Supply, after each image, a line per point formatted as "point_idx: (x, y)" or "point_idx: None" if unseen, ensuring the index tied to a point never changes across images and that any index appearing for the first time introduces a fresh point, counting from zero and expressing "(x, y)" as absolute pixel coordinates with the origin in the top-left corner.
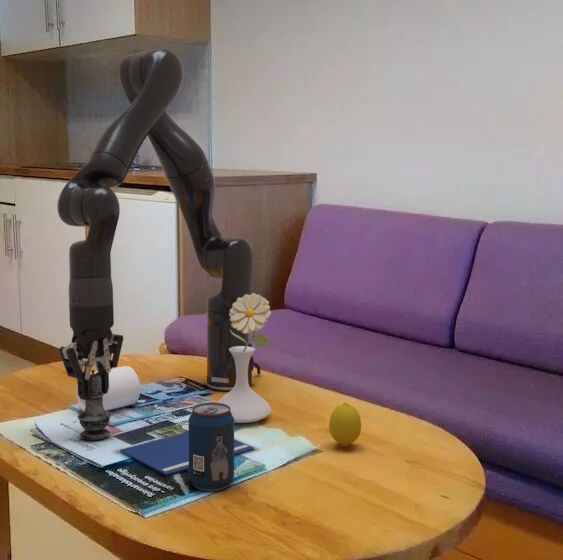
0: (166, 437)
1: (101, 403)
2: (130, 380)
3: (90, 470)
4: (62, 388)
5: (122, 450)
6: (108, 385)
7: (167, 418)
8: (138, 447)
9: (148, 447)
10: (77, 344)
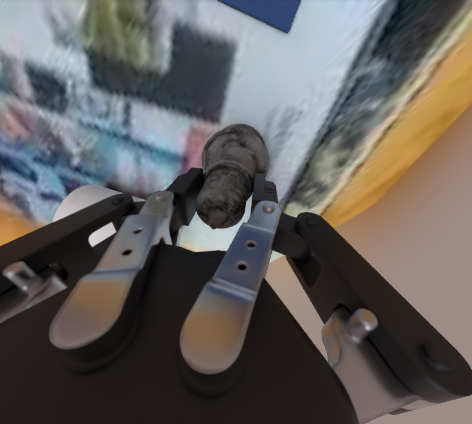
0: None
1: (226, 157)
2: (80, 208)
3: (425, 4)
4: None
5: (292, 19)
6: (178, 178)
7: (88, 94)
8: None
9: None
10: (352, 400)
